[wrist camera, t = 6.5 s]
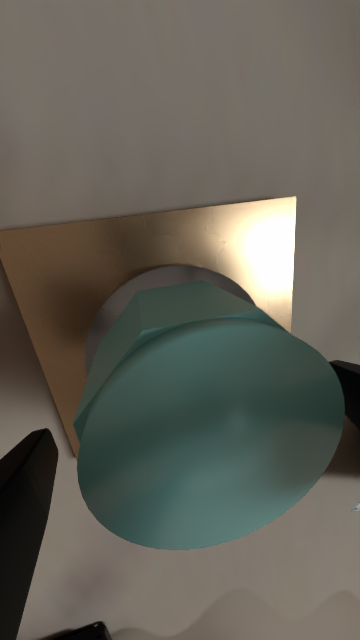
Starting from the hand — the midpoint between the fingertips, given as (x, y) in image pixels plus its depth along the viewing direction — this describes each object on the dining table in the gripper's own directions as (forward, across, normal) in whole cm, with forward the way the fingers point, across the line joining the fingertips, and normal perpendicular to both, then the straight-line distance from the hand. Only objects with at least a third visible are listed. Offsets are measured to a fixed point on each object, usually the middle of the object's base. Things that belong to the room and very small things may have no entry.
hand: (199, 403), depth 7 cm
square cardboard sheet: (+5, 0, 0) cm, 5 cm away
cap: (+3, 0, 0) cm, 3 cm away
